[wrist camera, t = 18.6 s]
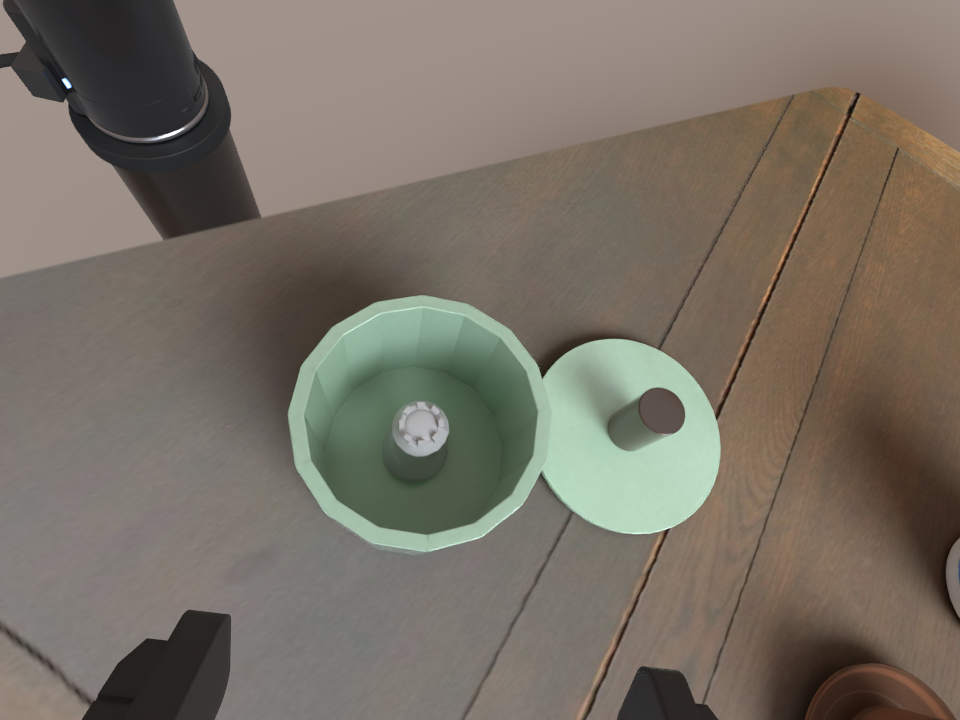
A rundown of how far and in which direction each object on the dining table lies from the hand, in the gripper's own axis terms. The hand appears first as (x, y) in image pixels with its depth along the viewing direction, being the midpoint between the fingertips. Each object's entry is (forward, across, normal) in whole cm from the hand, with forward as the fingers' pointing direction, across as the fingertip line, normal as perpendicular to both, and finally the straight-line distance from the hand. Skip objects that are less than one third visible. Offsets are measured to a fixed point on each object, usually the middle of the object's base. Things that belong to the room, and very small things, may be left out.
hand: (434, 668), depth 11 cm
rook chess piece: (+25, +1, +12) cm, 28 cm away
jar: (+26, +1, +12) cm, 28 cm away
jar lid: (+28, -14, +9) cm, 32 cm away
